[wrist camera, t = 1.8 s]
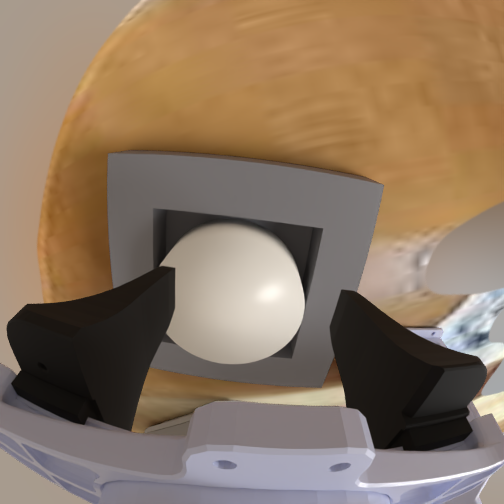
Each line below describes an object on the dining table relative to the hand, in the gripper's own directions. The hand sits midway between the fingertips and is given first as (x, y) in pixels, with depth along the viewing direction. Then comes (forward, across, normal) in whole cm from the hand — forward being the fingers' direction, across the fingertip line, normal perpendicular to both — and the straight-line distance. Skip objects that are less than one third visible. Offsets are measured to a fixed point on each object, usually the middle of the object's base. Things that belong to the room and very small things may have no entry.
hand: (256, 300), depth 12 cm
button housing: (+10, +2, +4) cm, 11 cm away
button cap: (+8, +1, +4) cm, 9 cm away
